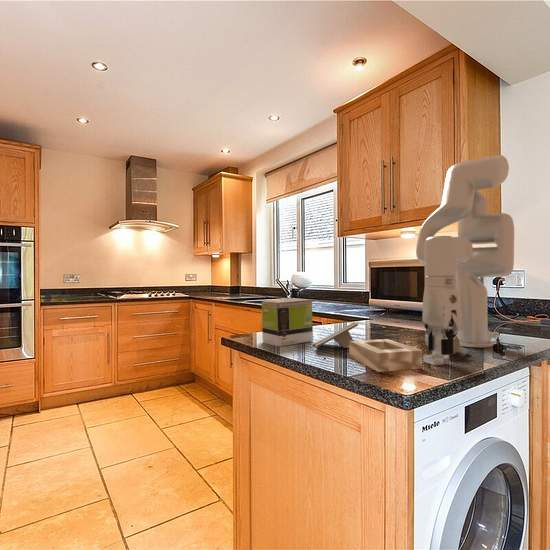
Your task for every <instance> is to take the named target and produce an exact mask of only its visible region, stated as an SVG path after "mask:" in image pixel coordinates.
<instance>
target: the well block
mask: <svg viewBox="0 0 550 550" xmlns="http://www.w3.org/2000/svg"><path fill="white" fill-rule="evenodd" d="M348 349H349V351H348V353H349V355H348V356H349V358H350V359H352V360H355V361H356V362H358V363H359V364H362V365H364V366H366V367H367V368H370V369H372V370H374V371H376V372H378V373H380V372H381V373H383V372H394V371H395V372H396V371H407V370H418V369H419V370H422V369H423V350H422V349H419V348H416V347H412V346H409V345H407V344H404V343H401V342H398V341H394V340H392V339H389V338H383V339H382V338H379V339H365V340H363V339H362V340H353V341H349V346H348Z"/></svg>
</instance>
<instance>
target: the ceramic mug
mask: <svg viewBox="0 0 550 550" xmlns="http://www.w3.org/2000/svg"><path fill="white" fill-rule="evenodd" d="M428 336H429V335H427V331H425V334H424V343H425V345H426V346H427V347H428ZM468 351H469V350H468V349H466V347H464V346H460V342H459V339H458V337H457V336H455V339H453V354H452V355H449V357H450V356H453V355H455V354H456V353H457V352H458V353H460V354H462V355H467V353H468Z"/></svg>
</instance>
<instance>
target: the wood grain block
mask: <svg viewBox="0 0 550 550" xmlns="http://www.w3.org/2000/svg"><path fill="white" fill-rule="evenodd" d="M448 327H449V326H448ZM446 330H447V332H448V331H449V329H446ZM441 339H443V335H442V329H441V327H438V326H433V325H432V351H431V352H432V353H431V354H422V362H424V363H427V364H429V365H432V366H444V365H450V356H449V355H442V354H441Z"/></svg>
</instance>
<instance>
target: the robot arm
mask: <svg viewBox="0 0 550 550" xmlns="http://www.w3.org/2000/svg"><path fill="white" fill-rule="evenodd" d="M509 167H510V166H509V161H508V160H507V158H506V156H504V155H501V154H499V155H492V156H488V157H487V156H486V157H483V158H482V157H481V158H477V159H471V160H467V161H466V160H465V161H462V162H459V163H455V164H453V165H452V166H450V168H448V170H447V172H446V175H445V179H444V185H443V190H442V191H443V192H442V196H441V201H440V205H439V207H438V208H437V209H436V210H435V211H433V212H432V213H431V214H430V215H429V216H428V217H427V218H426V220H425V221H424V222H423V224H422V225H421V227H420V229H419V233H418V238H417V242H416V249H415V250H416V252H415V254H416V259H417V260H418V262H419V263H421V265H422V264H423V265H424V289H423V290H424V291H423V298H422V319H421V323H422V325H423V326H424V329H425V331H426V332H427V335H429V336H428V346H427V349H428V351H429V352H432V325H433V326H438V327H441V329H442V335H443V339H441V354H442V355H451V356H453V355H454V354H453V339H455V336H457V337H458V339H459V342H460V346H461V347H464V348H477V349H478V348H481V349H482V348H491V347H493V346H494V342H493V341H492V340H491V339H499V338H500V332H499V331H492V332H491V330H489V329H488V324H489V323H488V290H487V287H486V286H485V284H484V283H482V281H480V279H479V278H504V277H505V278H506V277H508V276H510V275H511V274H512V273H513V271H514V265H515V223H514V220H513V218H512V216H511V215H510V214H509V213H504V212H498V213H488V199H487V198H486V197H485V195H484V194H483V193H482V192H480V190H486V189H492V188H498V186H500V185H502V184H503V183H504V182H505V181H506V179H507V178H508V177H509V176H508V174H509V169H510V168H509ZM456 222H457V236H450V235H436V234H437V233H439V232H440V231H441V230H443V229H444V228H447V227H448V226H451V225H452V224H453V225H454V224H455V223H456ZM488 244H490V245H492V244H494V245H495V246H487V247H483V246H481V247H473V245H488ZM448 326H449V327H448ZM446 329H449V331H448V332H447V330H446ZM452 354H453V355H452Z"/></svg>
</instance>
